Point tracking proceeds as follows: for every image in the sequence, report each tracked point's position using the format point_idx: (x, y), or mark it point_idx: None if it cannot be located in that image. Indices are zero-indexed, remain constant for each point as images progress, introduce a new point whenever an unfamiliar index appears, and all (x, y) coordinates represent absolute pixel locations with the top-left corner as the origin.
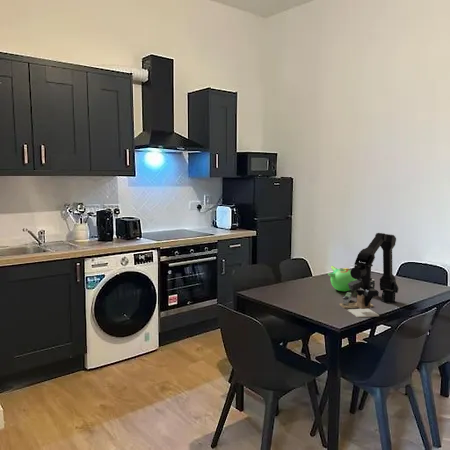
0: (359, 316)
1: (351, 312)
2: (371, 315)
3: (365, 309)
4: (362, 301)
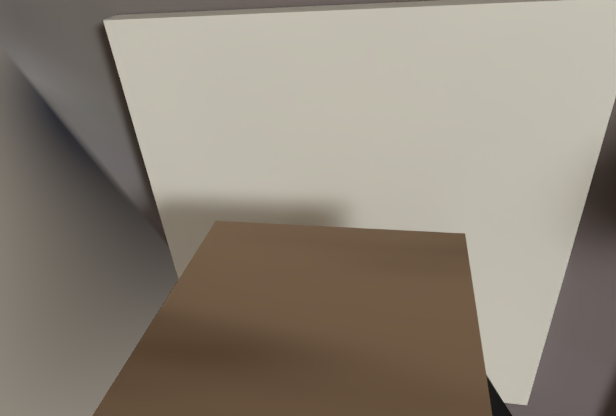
0: (119, 63)
1: (394, 5)
2: (179, 277)
3: (485, 347)
4: (123, 399)
